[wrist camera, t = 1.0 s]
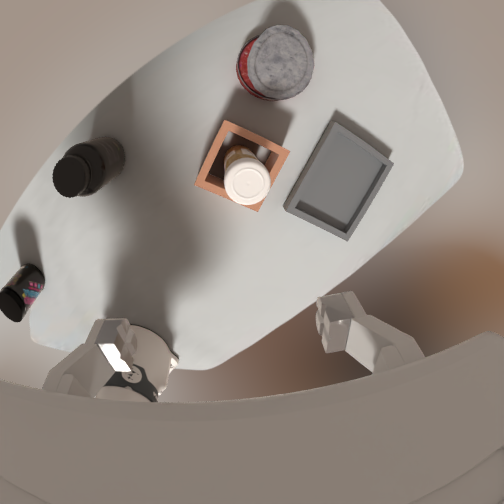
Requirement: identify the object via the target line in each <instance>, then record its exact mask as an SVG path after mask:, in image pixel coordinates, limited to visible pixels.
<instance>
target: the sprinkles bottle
mask: <svg viewBox="0 0 504 504" xmlns="http://www.w3.org/2000/svg"><path fill="white" fill-rule="evenodd" d="M223 163H224V169H225V175H224V186H225V190H226V192H227V194H228V196H229V197H230V198H231V199H232V200H233V201H235V202H237V203H239V204H242V205H252V204H255V203H258V202H260V201H261V200H262V199H264V198H265V197H266V195H267V194H268V192H269V190H270V186H271V178H270V174H269V172H268V170H267V169H266V167H265V166H264V165H263V164H262V163H261V162H260V161H259V160H258V159H257V158H256V156H255V155H254V154H253V152H252V151H251V150H250V149H249V148H248V147H245V146H242V145H237V146H233V147H231V148H230V149H229V150H228V151H227V152H226V153H225V155H224V159H223Z"/></svg>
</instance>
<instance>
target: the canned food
mask: <svg viewBox="0 0 504 504" xmlns="http://www.w3.org/2000/svg"><path fill="white" fill-rule="evenodd" d="M313 68H314V61H313V52H312V50H311V48H310V46H309V44H308V42H307V39H306V38H305V37H304V36H302V34H301V33H300V32H299V31H298V30H296V29H294V28H292V27H290V26H289V25H275V26H272V27H269V28H267V29H265V31H264V32H263V33H262V34H261V35H258V36H256V37H254V38H252V39H251V40H249V41H248V42H247V43H246V44H245V45H244V46H243V48H242V49H241V51H240V53H239V56H238V60H237V64H236V72H237V76H238V79H239V81H240V83H241V84H242V86H243V87H244V88H245V89H246V90H247V91H248V92H249V93H250V94H252V95H254V96H255V97H257V98H260V99H263V100H268V101H278V100H284V99H289V98H292V97H294V96H296V95H298V94H299V93H301V92H302V91H303V90H304V89H305V88H306V87H307V85H308V84H309V82H310V79H311V77H312V72H313Z"/></svg>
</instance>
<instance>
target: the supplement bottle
mask: <svg viewBox="0 0 504 504" xmlns="http://www.w3.org/2000/svg"><path fill="white" fill-rule="evenodd" d="M124 163H125V153H124V150H123V147H122V146H121V144H120V143H119V142H118V141H117V140H115V139H113V138H111V137H100V138H96V139H93V140H89V141H86V142H82V143H79V144H76V145H74V146H72V147H71V148H70V149H69V150H68V151H67V152H66V153H65V155H64V156H63V158H62V159H61V160H59V161H58V163H57V164H56V166H55V167H54V170H53V183H54V186H55V188H56V190H57V191H58V192H59V193H60V194H61V195H63V196H65V197H69V198H71V197H75V196H82V197H85V196H89V195H92V194H94V193H95V192H97V191H98V190H100V189H101V188H102V187H103V186H105V185H106V184H108V183H109V182H110V181H112V180H113V179H114V178H115V177H117V176H118V175H119V174H120V172H121V171H122V169H123V167H124Z"/></svg>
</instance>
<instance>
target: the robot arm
mask: <svg viewBox="0 0 504 504" xmlns="http://www.w3.org/2000/svg"><path fill="white" fill-rule="evenodd" d="M317 307H318V311H317V312H316V324H317V329H318V332H319V334H320V335H322V343H323V346H324V349H325V352H326V353H331V352H336V351H341V350H346V352H348V353H349V354H350V355H351V356H353V357H354V358H355V359H356V360H358V361H359V362H360V363H361V364H363V365H364V366H365V367H366V368H368V369H369V370H370V371H371V372H373V373H372V375H370V376H366V377H363V378H359V379H355V380H351V381H347V382H343V383H339V384H334V385H330V386H325V387H320V388H315V389H310V390H305V391H299V392H293V393H287V394H281V395H273V396H266V397H258V398H249V399H239V400H227V401H211V402H178V403H169V402H168V403H167V402H158V395H161V393H162V391H163V390H165V388H166V387H167V382H168V375H169V373H170V372H171V371H172V370H173V369H174V368H175V367H176V366H177V365H178V361H179V360H178V358H177V357H176V356H175V355H173V354H172V353H171V352H170V350H169V348H168V346H167V344H166V343H165V342H164V340H163V339H162V338H160V337H159V336H158V335H157V334H155V333H154V332H152V331H150V330H148V329H145V328H142V327H139V326H134V325H130V323H129V321H128V319H126V318H111V319H97V320H96V321H95V323H94V325H93V327H92V329H91V331H90V333H89V335H88V338H87V340H86V342H85V344H81V345H80V346H79V347H78V348H76V349H75V350H74V351H73V352H72V353H70V354H69V355H68V356H67V357H66V358H64V359H63V360H62V361H61V362H60V363H58V364H57V365H56V366H55V367H54V368H52V369H51V370H50V371H49V373H48V376H47V378H46V380H45V383H44V385H43V387H42V389H37V388H32V387H28V386H24V385H20V384H16V383H12V382H8V381H5V380H2V379H0V504H504V337H503V336H501V335H499V334H496V333H494V332H491V331H487V332H484V333H481V334H479V335H477V336H475V337H473V338H471V339H469V340H467V341H464V342H462V343H460V344H458V345H455V346H453V347H451V348H448V349H446V350H444V351H441V352H439V353H436V354H434V355H431V356H428V357H426V358H425V356H424V355H423V353H422V351H421V349H420V348H419V346H418V345H417V343H416V341H415V340H414V338H413V337H411V336H409V335H407V334H405V333H403V332H401V331H399V330H398V329H396V328H394V327H392V326H390V325H388V324H386V323H385V322H383V321H381V320H379V319H377V318H375V317H373V316H371V315H366V313H365V311H364V310H363V308H362V306H361V304H360V303H359V301H358V299H357V297H356V296H355V294H354V293H353V292H352V291H348V292H344V293H339V294H334V295H328V296H322V297H318V298H317ZM95 396H96V398H94V397H95Z"/></svg>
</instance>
